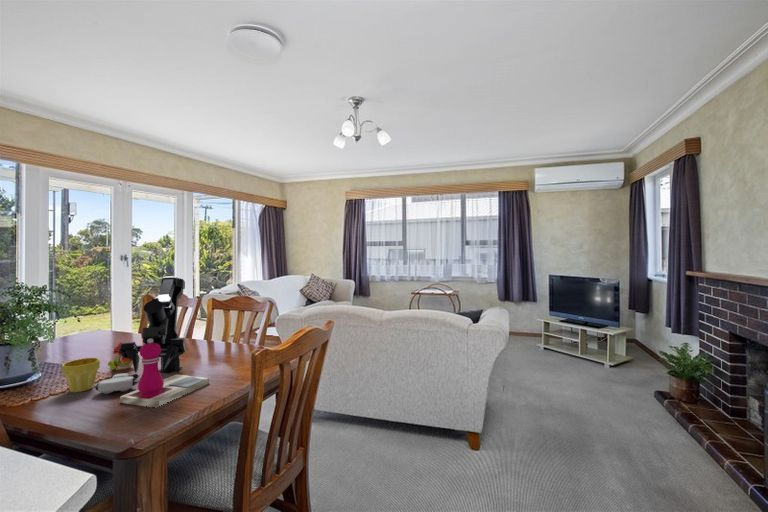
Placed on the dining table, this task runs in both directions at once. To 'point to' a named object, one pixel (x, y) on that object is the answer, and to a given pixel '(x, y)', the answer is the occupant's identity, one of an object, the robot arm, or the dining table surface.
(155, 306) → the robot arm
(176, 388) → the puzzle board
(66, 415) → the dining table surface
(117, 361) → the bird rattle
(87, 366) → the plant pot
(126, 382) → the robot toy
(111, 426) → the dining table surface
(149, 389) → the pepper mill
